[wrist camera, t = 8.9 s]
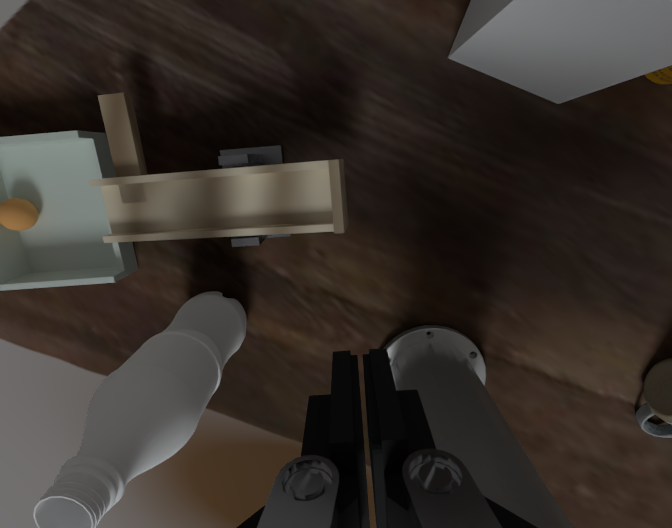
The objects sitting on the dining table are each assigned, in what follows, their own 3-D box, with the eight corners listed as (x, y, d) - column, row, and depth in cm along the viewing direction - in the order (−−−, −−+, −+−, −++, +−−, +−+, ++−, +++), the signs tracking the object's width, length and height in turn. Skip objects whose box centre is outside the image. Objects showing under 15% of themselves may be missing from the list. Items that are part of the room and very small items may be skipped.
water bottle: (249, 348, 44) (137, 581, 20) (187, 339, 44) (-3, 565, 20) (254, 289, 42) (136, 469, 18) (189, 280, 42) (-19, 450, 18)
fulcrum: (281, 145, 38) (267, 143, 31) (291, 234, 40) (281, 251, 33) (221, 150, 38) (194, 149, 31) (235, 239, 40) (213, 256, 33)
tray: (138, 269, 41) (114, 282, 37) (31, 276, 42) (-5, 290, 38) (107, 133, 38) (76, 130, 33) (-10, 143, 38) (-56, 141, 34)
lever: (337, 69, 30) (331, 61, 27) (348, 226, 33) (344, 234, 30) (87, 99, 33) (59, 94, 30) (120, 238, 37) (97, 246, 34)
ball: (50, 226, 39) (19, 233, 36) (25, 227, 40) (-7, 234, 37) (41, 195, 39) (9, 199, 36) (16, 197, 39) (-18, 201, 36)
